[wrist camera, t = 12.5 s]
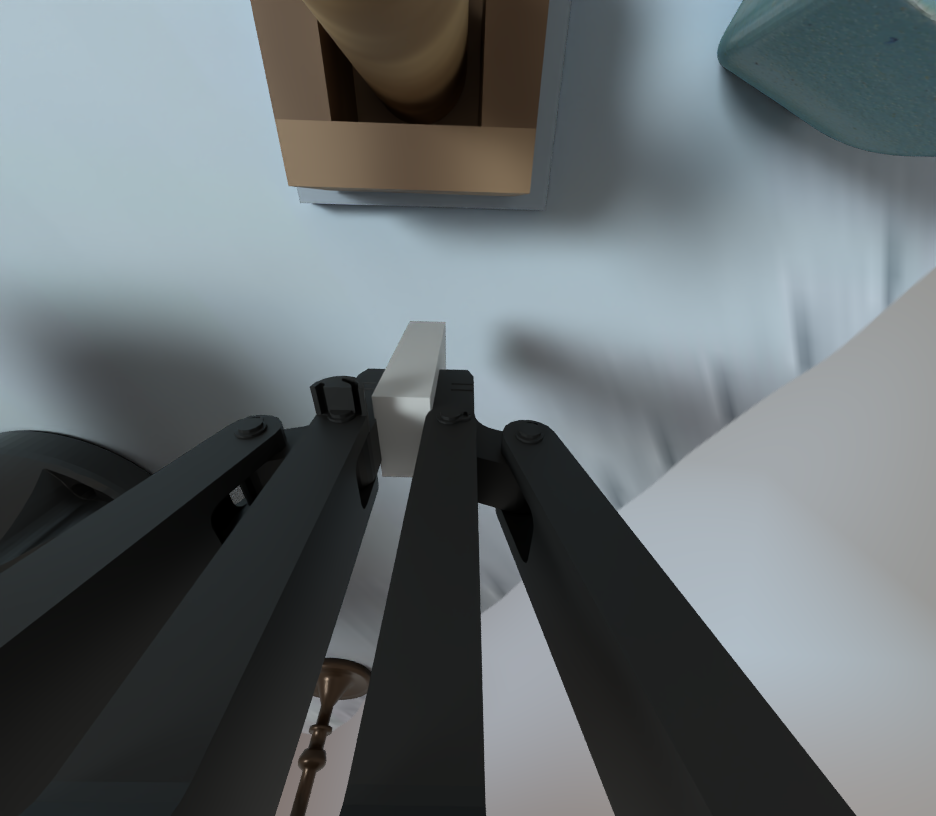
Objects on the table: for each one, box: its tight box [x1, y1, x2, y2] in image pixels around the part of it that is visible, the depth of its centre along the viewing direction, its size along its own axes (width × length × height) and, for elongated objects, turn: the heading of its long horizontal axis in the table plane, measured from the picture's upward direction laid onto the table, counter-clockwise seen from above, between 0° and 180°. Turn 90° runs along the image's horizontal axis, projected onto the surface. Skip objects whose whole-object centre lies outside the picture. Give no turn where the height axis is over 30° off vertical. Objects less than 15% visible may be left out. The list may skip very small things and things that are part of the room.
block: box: [250, 0, 549, 196], centre depth 11 cm, size 8×8×4 cm
